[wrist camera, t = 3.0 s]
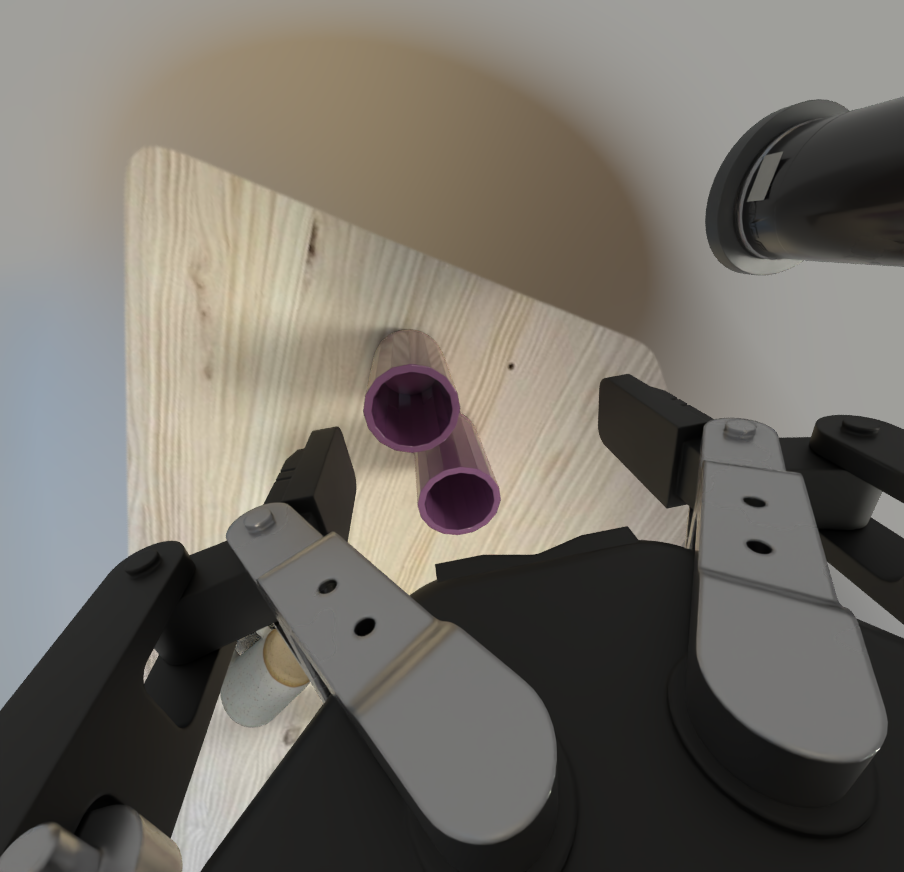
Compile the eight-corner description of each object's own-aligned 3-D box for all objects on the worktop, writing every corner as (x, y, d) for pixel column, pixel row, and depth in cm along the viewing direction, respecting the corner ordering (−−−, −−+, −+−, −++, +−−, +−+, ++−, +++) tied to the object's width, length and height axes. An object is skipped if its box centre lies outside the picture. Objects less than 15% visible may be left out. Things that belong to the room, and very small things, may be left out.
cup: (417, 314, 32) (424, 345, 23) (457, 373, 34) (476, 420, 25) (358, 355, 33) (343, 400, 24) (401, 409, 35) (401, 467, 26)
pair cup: (455, 398, 35) (473, 452, 26) (487, 445, 38) (514, 508, 29) (401, 432, 36) (401, 496, 27) (436, 476, 39) (447, 547, 30)
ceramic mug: (329, 634, 47) (316, 700, 41) (289, 670, 50) (271, 738, 43) (250, 596, 43) (221, 663, 37) (210, 637, 46) (176, 706, 39)
